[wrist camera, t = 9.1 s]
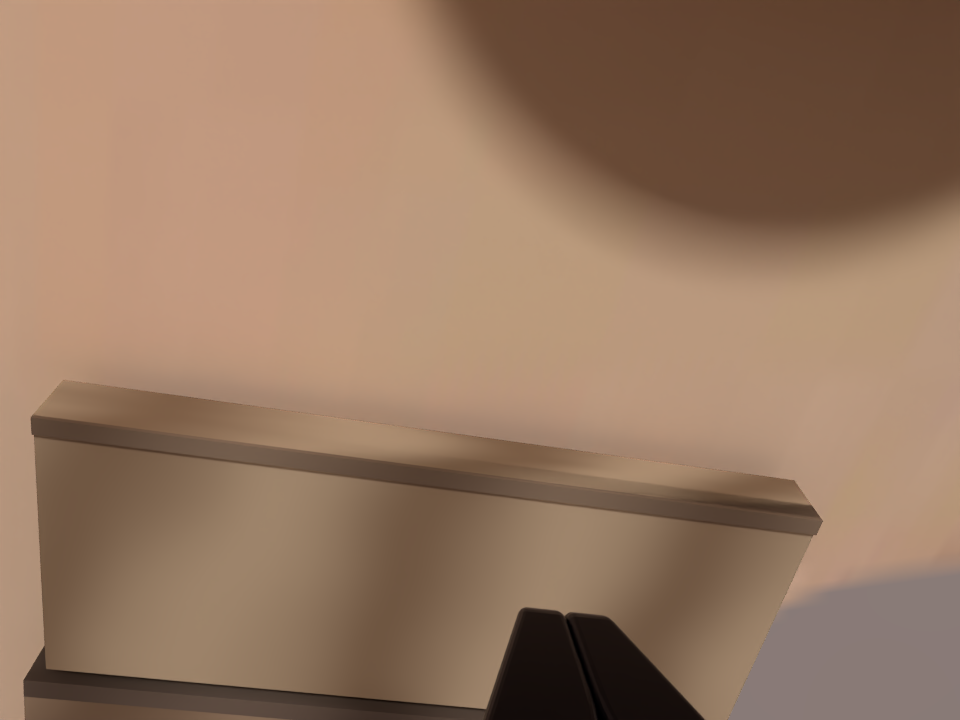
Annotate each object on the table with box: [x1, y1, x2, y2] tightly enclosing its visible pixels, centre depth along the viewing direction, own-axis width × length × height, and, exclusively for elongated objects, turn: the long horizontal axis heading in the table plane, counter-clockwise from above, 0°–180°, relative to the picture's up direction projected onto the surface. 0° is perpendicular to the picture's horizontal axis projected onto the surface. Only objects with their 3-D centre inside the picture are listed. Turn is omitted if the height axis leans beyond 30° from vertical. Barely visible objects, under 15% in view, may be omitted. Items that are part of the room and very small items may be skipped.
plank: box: [31, 380, 823, 720], centre depth 19 cm, size 17×7×2 cm, turn 79°
